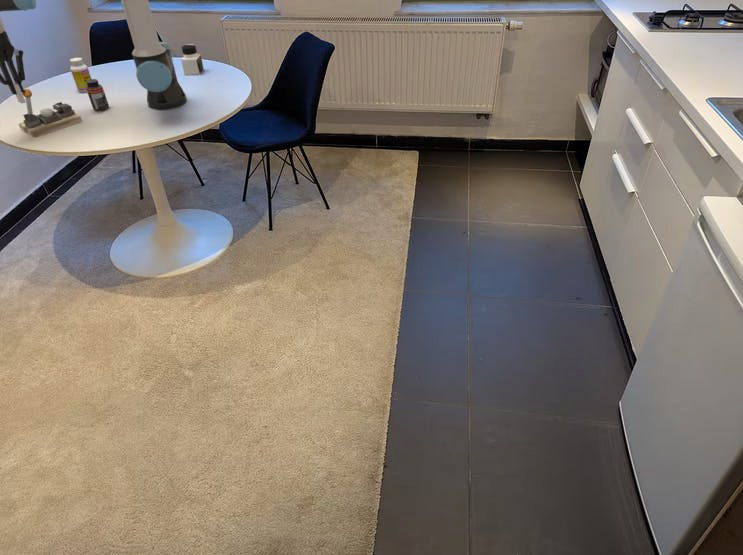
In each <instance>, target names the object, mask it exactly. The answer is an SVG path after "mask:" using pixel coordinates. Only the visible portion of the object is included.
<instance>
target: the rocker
mask: <svg viewBox="0 0 743 555" xmlns="http://www.w3.org/2000/svg"><path fill="white" fill-rule="evenodd" d="M67 105H68V106H69V109H70V110H73V107H72V106H71V105H70V104H68V103H62V104H58V105H55V104H53V105H52V110H54V111H55V110H56V111H63V110H62V108H61V107H64V106H67Z"/></svg>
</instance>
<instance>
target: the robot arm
mask: <svg viewBox="0 0 743 555" xmlns="http://www.w3.org/2000/svg"><path fill="white" fill-rule="evenodd" d="M120 2H121V5H122V9H123V12H124V17H125V19H126V22H127V25H128V26H127V27H128V29H129V32H130V36H131V39H132V43H133V46H134V49H133V50H132V52H131V55H132V58H133V61H134V65H135V68H136V78H137V81H138V82H139V85H140V86H141V87H142V88H144V89H146V90H147V91H146V103H147V105H148V108H150V109H152V110H159V111H162V110H163V111H164V110H172V109H175V108H179V107H181V106H183V105H185V104H186V103H187V101H188V99H187V95H186V93H185V91H184V90H183V87H182V86H181V84H180V83H179V81H178V78H177V73H176V70H175V69H176V68H175V64H174V60H173V56H172V53H171V48H170V45H169V43H167V42H166V41H165V42H164V41H160V39H159V37H158V32H157V29H156V28H157V27H156V25H155V21H154V18H153V13H152V10H151V6H150V2H149V0H120ZM36 7H37V0H0V12H10V11H11V12H13V11H15V12H16V11H24V12H25V11H28V10H35V8H36ZM5 29H6V28H5V25H4V23H3V20H2V19H1V17H0V71H1V72H2V74H1V73H0V84H2V85H5V86H8V88H9V91H10V92H11V94H12V95H15V97H16V99H17V101H18V103H20V104H25V103H26V99H25V97H24V96H23V94H22V92H24V89H25V88H24V87H23V84H22V82H23V81H25V80H26V75H25V68H24V67H25V66H24V61H23V56H24V51H23V50H22V49H18V48H15V47H14V45H13V44H12V43H11V40H10V38H9V36H8V33H7V31H6V30H5ZM13 56H15V61H16V63H15V64H16V67H15V64H14V60H13ZM6 64H7V65H6ZM9 72H10V73H9ZM11 76H12V77H11Z"/></svg>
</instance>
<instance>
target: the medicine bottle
mask: <svg viewBox="0 0 743 555" xmlns="http://www.w3.org/2000/svg"><path fill="white" fill-rule="evenodd" d="M181 51H182V55H183V57H181V58H180V61H181V65H182V69H183V72H184V73H183V74H184V76H200V75H201V74H202V73H203V71H204V70H205V69H204V63H203V59H202V55H201V54H200V53H198V52H197V47H196V45H195V44H192V43H188V44H183V45H182V46H181Z"/></svg>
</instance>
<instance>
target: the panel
mask: <svg viewBox="0 0 743 555" xmlns="http://www.w3.org/2000/svg"><path fill="white" fill-rule="evenodd" d="M58 104H63V103H62V102H61V101H60V102H57V103H54V105H58ZM68 105H69V104H68ZM68 105H67V106H64V107H61V108H62V110H63V111H57V110H56V111H55V110H54V109H52V111H53V114H54V116H50V117H47V118H43V117H42V115H41V113H39V114H34V113H33V115H30V116H28V113H25V114H23V115H22V116H23V118H24V120H23V122H21V123H18V125H19V128H20V130H21V129H22V131H23V130H24V131H23V132H25V133H26V134H28V135H30V136H32V137H33V138H37V137H40V136H43V135H46V134H50V133H52V132H55V131H58V130H60V129H64V128H66V127H70V126H72V125H76V124H78V123H81V122H83V120H82V117H81V115H79V114H76V112H75V110H74V109H72V110H70V109H69V106H68Z"/></svg>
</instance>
